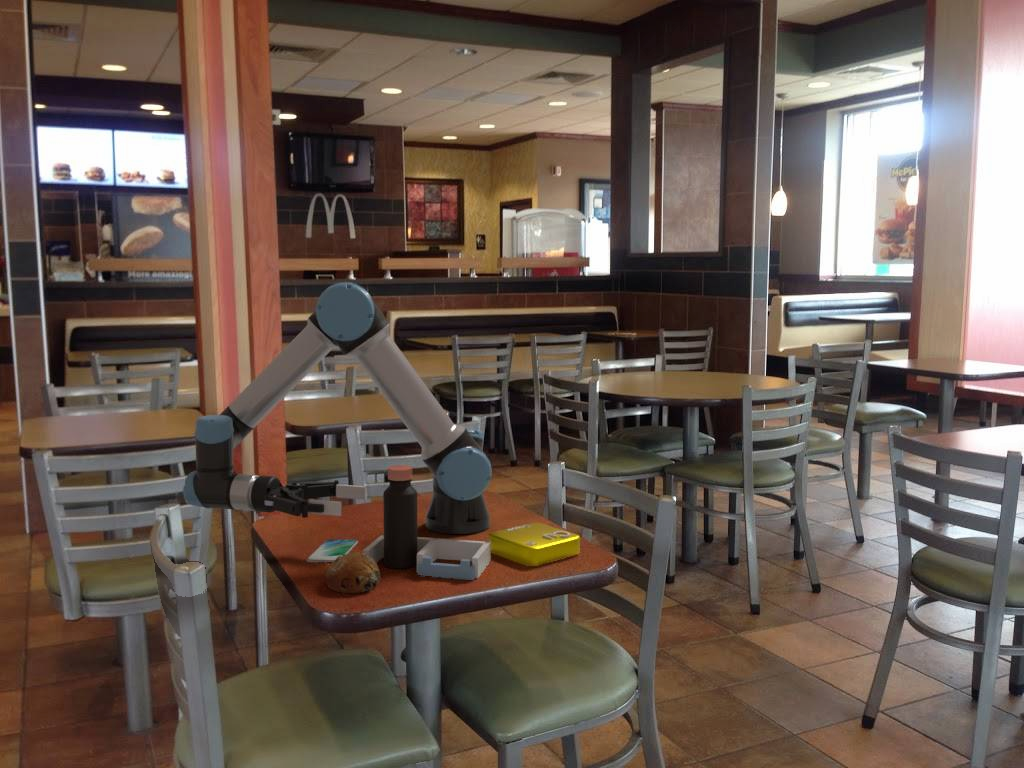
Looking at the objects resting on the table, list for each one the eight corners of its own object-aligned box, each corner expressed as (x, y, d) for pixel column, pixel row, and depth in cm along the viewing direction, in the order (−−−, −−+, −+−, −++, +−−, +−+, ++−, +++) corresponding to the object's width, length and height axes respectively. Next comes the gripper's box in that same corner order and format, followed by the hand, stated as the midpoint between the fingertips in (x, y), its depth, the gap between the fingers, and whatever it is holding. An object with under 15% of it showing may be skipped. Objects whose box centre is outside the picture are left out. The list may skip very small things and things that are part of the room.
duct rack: (382, 552, 189) (382, 534, 189) (490, 560, 184) (490, 541, 184) (360, 571, 177) (360, 551, 176) (476, 580, 172) (476, 560, 172)
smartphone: (304, 560, 183) (326, 538, 197) (304, 564, 183) (326, 542, 198) (339, 560, 182) (358, 539, 197) (339, 565, 182) (358, 543, 197)
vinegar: (391, 557, 186) (390, 463, 183) (422, 560, 184) (421, 465, 182) (378, 567, 179) (377, 470, 177) (410, 570, 178) (409, 472, 175)
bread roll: (373, 594, 175) (367, 553, 177) (390, 587, 166) (383, 544, 168) (324, 602, 170) (318, 560, 172) (338, 595, 162) (332, 551, 164)
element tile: (536, 539, 201) (536, 519, 200) (583, 555, 190) (584, 533, 189) (484, 552, 191) (484, 530, 191) (531, 570, 180) (531, 547, 179)
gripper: (284, 497, 199) (374, 503, 195) (227, 526, 175) (329, 535, 170) (284, 464, 198) (375, 470, 194) (226, 489, 174) (329, 496, 170)
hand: (353, 500), depth 182 cm, fingers open, 13 cm apart
